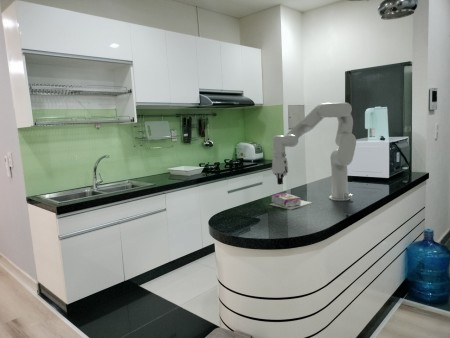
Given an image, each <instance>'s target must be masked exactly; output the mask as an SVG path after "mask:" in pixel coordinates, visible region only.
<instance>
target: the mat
mask: <svg viewBox="0 0 450 338" xmlns="http://www.w3.org/2000/svg"><path fill="white" fill-rule="evenodd" d="M300 201H301V205H299V206H292V207H283V206H280V205H278V204H276V203H273V202H271V203H269V205H270V206H274V207H278V208H283V209H287V210H294V209H298V208H301V207H304V206H307V205H311V204H313V202H311V201H307V200H300Z"/></svg>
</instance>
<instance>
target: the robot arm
mask: <svg viewBox="0 0 450 338" xmlns="http://www.w3.org/2000/svg"><path fill="white" fill-rule="evenodd" d="M352 111H353V108H352V105H351V103H349V102H325V103H319V104H317V105H316V106H314V108H313V109H312V110H311V111H310V112H309V113H308V114H307V115H306V116H305V117H304V118H303V119H302V120H300V121H299V122H298V123H297V124H296V125H295V126H293V128H291V129H290V130H289V131H288V132H287V133H286V134H285V135H282V134H281V135H274V136H273V137H272V152H273V153H272V161H271V162H272V163H271V170H272V174H273V175H275V176H276V179H277V181H276V182H277V185H284V179H283V178H284V177H286V176H287V174H288V173H289V165H288V164H289V163H288V159H287V157H286V156H287V154H286V148H287V147H289V148H294V147H296V146H297V145H298V143H299V138H301V137H302V136H303V135H304V134H306V133H308V132H310V131H313V129H314V128H316V126H317V125H318V124H319V123H320V122H322V121H323V119H325V118H337V121H338V123H337V124H338V125H337V130H336V135H335V140H334V141H335V144H336V145H337V147H338V148H337V149H335V150H333V151H332V152H331V154H330V156H329V157H330V168H331V195H329V196H328V198H329V200H331V201H340V202H341V201H349V200H350V199H352V198H353V197H354V195H353V194H351V193H350V192H349V191H348V166H349V165H350V164H352V162H353V159H354V155H355V150H356V147H357V137H356V136H355V135H354V134H353V133H352V132H353V128H354V127H353V126H354V119H353V116H352Z"/></svg>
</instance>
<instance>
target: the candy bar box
mask: <svg viewBox="0 0 450 338" xmlns="http://www.w3.org/2000/svg"><path fill="white" fill-rule="evenodd" d="M301 199H302V198H301V197H299V196H296V195H293V194H290V193H287V192H285V193H277V194H276V193H275V194H271V203H276V204H278V205H280V206H283V207H292V206H299V205H301V201H300V200H301Z"/></svg>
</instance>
